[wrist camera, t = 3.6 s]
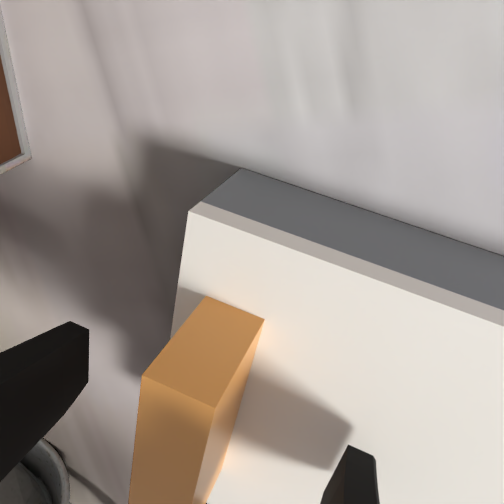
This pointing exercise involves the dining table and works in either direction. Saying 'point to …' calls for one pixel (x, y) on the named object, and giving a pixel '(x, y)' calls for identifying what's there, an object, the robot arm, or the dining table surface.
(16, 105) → the food container
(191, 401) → the lid
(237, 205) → the dark grey tray
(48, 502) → the ceramic mug
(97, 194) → the dining table surface
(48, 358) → the robot arm
